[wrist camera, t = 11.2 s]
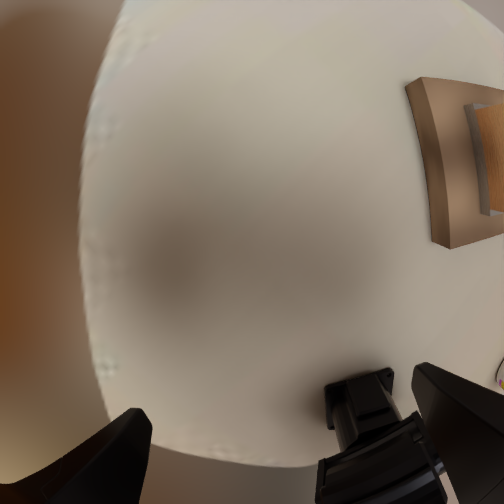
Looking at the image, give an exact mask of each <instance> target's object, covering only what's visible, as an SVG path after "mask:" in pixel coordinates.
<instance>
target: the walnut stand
mask: <svg viewBox="0 0 504 504" xmlns="http://www.w3.org/2000/svg"><path fill="white" fill-rule="evenodd" d="M405 88H406V91H407V94H408V98H409V101H410V104H411V108H412V112H413V115H414V119H415V123H416V127H417V132H418V136H419V141H420V145H421V150H422V155H423V161H424V167H425V173H426V180H427V187H428V195H429V204H430V214H431V227H432V242H434V243H437V244H439V245H441V246H444V247H446V248H448V249H453V248H457V247H460V246H464V245H467V244H470V243H474V242H477V241H480V240H483V239H487V238H490V237H493V236H496V235H499V234H502V233H504V213H502V214H498V215H494V216H487V215H482V214H480V200H479V189H478V179H477V171H476V164H475V157H474V152H473V146H472V141H471V136H470V131H469V127H468V122H467V118H466V114H465V111H464V107H463V106H464V105H468V104H471V103H476V104H484V105H490V106H493V105H498V104H503V103H504V90H500V89H496V88H491V87H487V86H482V85H477V84H472V83H467V82H461V81H454V80H447V79H439V78H429V77H420V78H418V79H416V80H415V81H413V82H411V83H410V84H408V85H406V86H405Z"/></svg>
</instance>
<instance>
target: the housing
mask: <svg viewBox="0 0 504 504" xmlns="http://www.w3.org/2000/svg"><path fill="white" fill-rule="evenodd" d="M463 107H464V111H465V114H466V118H467V122H468V127H469V131H470V136H471V141H472V146H473V152H474V157H475V164H476V171H477V179H478V189H479V200H480V214H482V215H487V216H494V215H498V214H502V213H504V103H503V104H498V105H493V106H490V105H484V104H476V103H471V104H468V105H464V106H463Z"/></svg>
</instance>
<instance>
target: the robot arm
mask: <svg viewBox="0 0 504 504" xmlns="http://www.w3.org/2000/svg"><path fill="white" fill-rule="evenodd" d="M387 374H388V375H387ZM393 379H394V371H393V370H392V369H391V368H389V369H385V370H382V371H379V372H376V373H372V374H369V375H365V376H362V377H358V378H355V379H351V380H347V381H343V382H339V383H335V384H331V385H327V386H326V387H325V388H324V394H325V405H326V417H327V427H328V429H329V430H334V429H335V430H336V435H337V439H338V443H339V447H340V451H341V453H338V454H336V455H334V456H331V457H329V458H324V459H321V460H319V463H318V471H317V484H316V493H315V503H316V504H447V499H448V497H447V495H446V492H445V490H444V487H443V485H442V483H441V480H440V478H439V475H441V474H443V473H445V472H447V475H448V477H449V479H450V482H451V484H452V487H453V489H454V491H455V494H456V496H457V499H458V501H459V504H504V395H502V394H499V393H497V392H495V391H492V390H490V389H488V388H485V387H483V386H480V385H478V384H476V383H473V382H471V381H469V380H467V379H464V378H462V377H460V376H457V375H455V374H453V373H451V372H448V371H446V370H444V369H442V368H439V367H437V366H435V365H433V364H430V363H428V362H423V363H421V364H418V365H416V366H415V367H414V370H413V377H412V383H411V387H412V391H413V394H414V396H415V399H416V402H417V405H418V407H419V410H420V413H421V416H422V418H421V416H420V414H419V413H418V411H417V410H416V411H415V412H413V413H412V414H411V415H410V416H409V417H407V418H405V419H404V420H403V419H402V417H401V415H400V413H399V411H398V409H397V407H396V405H395V403H394V401H393V399H392V397H391V395H392V388H393ZM329 390H330V391H329ZM151 436H152V424H151V422H150V420H149V419H148V417H147V416H146V414H145V413H144V411H143V410H142V409H141V408H130V409H128V410H127V411H126V412H124V413H123V414H122V415H120V416H119V417H118V418H116V419H115V420H113V421H112V422H111V423H109V424H108V425H107V426H105V427H104V428H103V429H101V430H100V431H98V432H97V433H96V434H94V435H93V436H91V437H90V438H89V439H87V440H86V441H84V442H83V443H81V444H80V445H79V446H77V447H76V448H74V449H73V450H71V451H70V452H68V453H67V454H65V455H64V456H63V457H61V458H59V459H58V460H56V461H55V462H53V463H52V464H50V465H48V466H47V467H45V468H43V469H42V470H40V471H38V472H36V473H34V474H32V475H30V476H28V477H26V478H24V479H22V480H19V481H17V482H15V483H11V484H0V504H139V500H140V495H141V491H142V487H143V482H144V478H145V474H146V469H147V465H148V459H149V452H150V444H151Z"/></svg>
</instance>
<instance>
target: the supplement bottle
mask: <svg viewBox="0 0 504 504" xmlns="http://www.w3.org/2000/svg"><path fill="white" fill-rule="evenodd" d="M497 383H498V384H499V385H500V386H501V387H502V389H503V390H504V361H503V362H502V364H501V366H500V368H499V371H498V374H497Z"/></svg>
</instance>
